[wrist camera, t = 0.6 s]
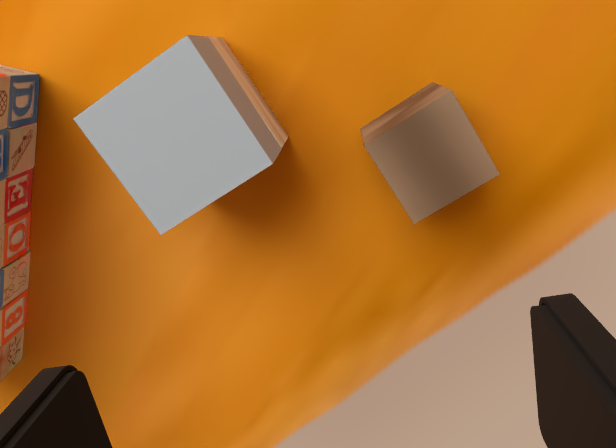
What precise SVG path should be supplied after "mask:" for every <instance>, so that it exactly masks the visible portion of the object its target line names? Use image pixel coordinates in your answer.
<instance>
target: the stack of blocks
mask: <svg viewBox="0 0 616 448" xmlns="http://www.w3.org/2000/svg"><path fill="white" fill-rule="evenodd" d="M38 94H39V74H37V73H33V72H29V71H25V70H20V69H16V68H12V67H8V66H4V65H0V381H1V380H2V379H3V378H4V377H5V376H6V375H7V374H8V373H9V372H10V371H11V370H12V369H13V368H14V367H15V366H16V365H17V364H18V363H19V362H20V361H21V359H22V355H23V341H24V326H25V324H26V314H27V298H28V283H29V270H30V251H29V244H30V241H29V239H30V224H31V211H30V207H31V196H32V176H33V170H32V168H33V167H34V166H35V151H36V135H37V122H36V121H37V114H38Z"/></svg>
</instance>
